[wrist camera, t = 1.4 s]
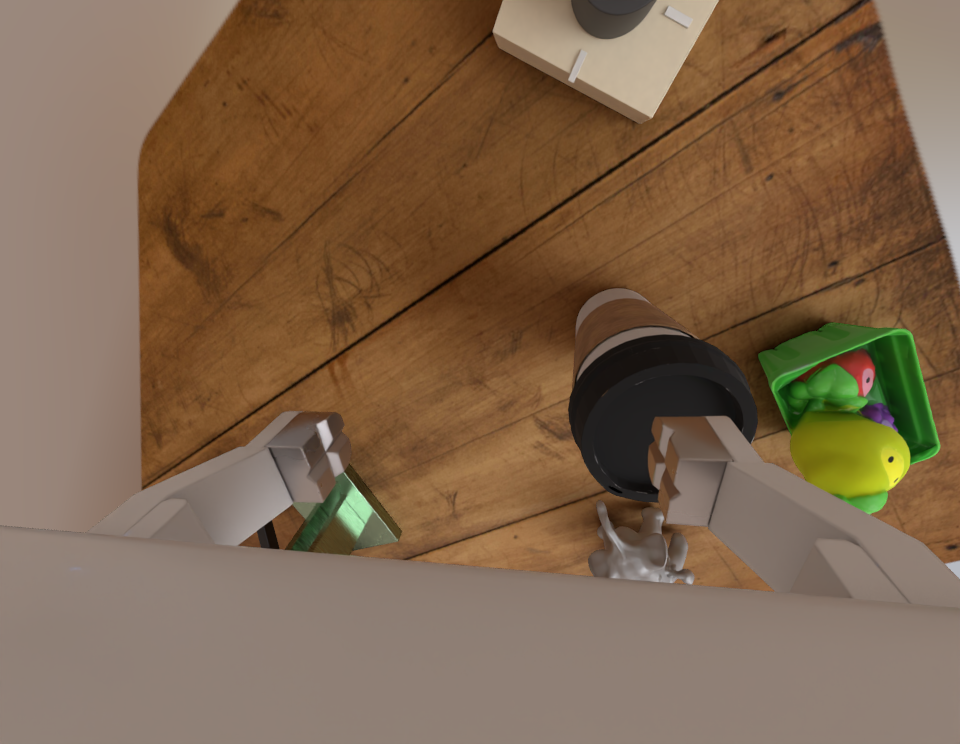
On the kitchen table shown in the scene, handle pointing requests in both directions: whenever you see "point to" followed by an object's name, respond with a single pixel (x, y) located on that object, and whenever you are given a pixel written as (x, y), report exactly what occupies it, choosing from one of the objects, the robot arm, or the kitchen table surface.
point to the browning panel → (605, 50)
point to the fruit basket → (853, 409)
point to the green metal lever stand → (344, 520)
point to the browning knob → (610, 16)
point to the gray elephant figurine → (639, 551)
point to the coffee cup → (643, 387)
